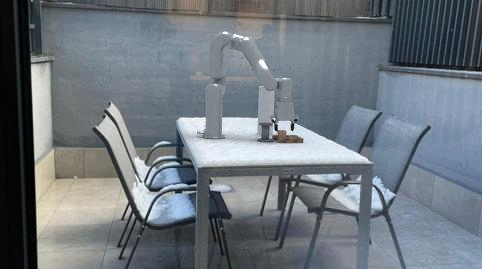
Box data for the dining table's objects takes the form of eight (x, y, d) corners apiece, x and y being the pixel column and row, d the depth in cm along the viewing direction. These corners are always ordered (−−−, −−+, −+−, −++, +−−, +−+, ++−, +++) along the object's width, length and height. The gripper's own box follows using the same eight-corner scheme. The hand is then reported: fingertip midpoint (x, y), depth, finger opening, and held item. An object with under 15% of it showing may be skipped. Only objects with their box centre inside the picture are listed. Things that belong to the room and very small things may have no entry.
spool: (259, 142, 249) (259, 124, 248) (255, 139, 258) (255, 122, 257) (275, 142, 251) (275, 124, 250) (270, 139, 260) (271, 122, 258)
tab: (279, 141, 254) (279, 131, 253) (277, 140, 258) (277, 130, 257) (285, 141, 255) (286, 131, 254) (283, 140, 259) (284, 130, 258)
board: (279, 143, 249) (279, 138, 249) (271, 139, 263) (272, 134, 262) (303, 142, 252) (303, 138, 252) (295, 139, 266) (295, 134, 265)
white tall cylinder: (273, 136, 273) (275, 86, 269) (257, 136, 273) (259, 85, 269) (272, 134, 282) (274, 85, 278) (257, 133, 282) (258, 85, 278)
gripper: (271, 100, 248) (271, 132, 250) (301, 100, 252) (301, 131, 254) (267, 99, 255) (267, 130, 258) (297, 99, 259) (296, 129, 261)
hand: (284, 130), depth 256 cm, fingers open, 8 cm apart
